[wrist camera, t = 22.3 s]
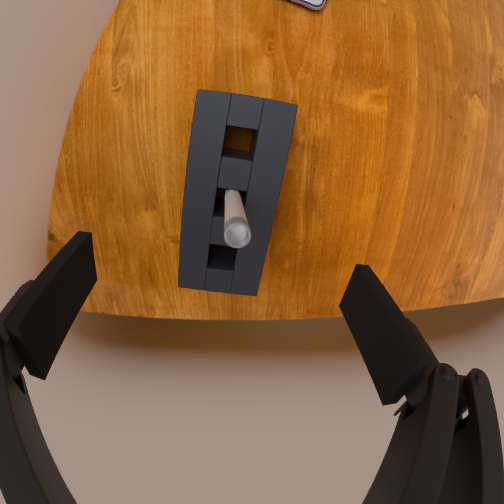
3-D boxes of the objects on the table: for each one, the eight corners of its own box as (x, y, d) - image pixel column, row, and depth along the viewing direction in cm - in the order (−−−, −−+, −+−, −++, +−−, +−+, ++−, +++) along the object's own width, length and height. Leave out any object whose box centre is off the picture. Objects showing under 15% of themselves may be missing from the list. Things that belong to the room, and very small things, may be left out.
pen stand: (185, 260, 30) (178, 287, 25) (204, 93, 22) (197, 89, 17) (253, 268, 31) (256, 296, 26) (286, 105, 23) (298, 105, 18)
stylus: (223, 193, 27) (222, 247, 13) (225, 180, 26) (225, 220, 12) (236, 195, 27) (248, 250, 13) (238, 182, 26) (253, 224, 13)
